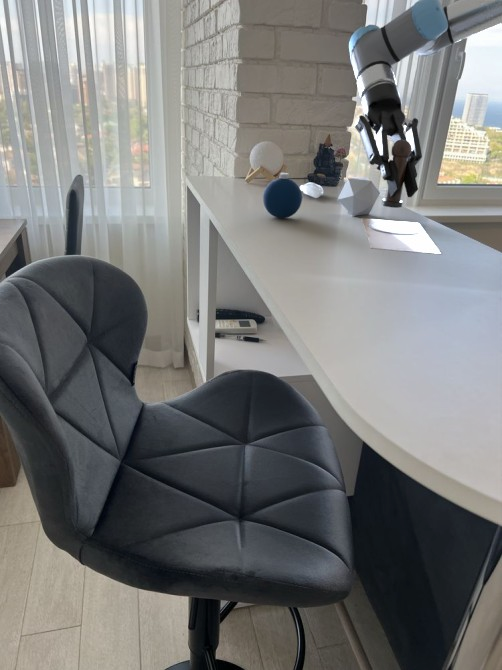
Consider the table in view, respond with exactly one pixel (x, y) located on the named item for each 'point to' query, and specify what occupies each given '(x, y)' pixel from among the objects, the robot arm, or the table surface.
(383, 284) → the table surface
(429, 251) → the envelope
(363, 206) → the die
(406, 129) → the robot arm
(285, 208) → the christmas ornament
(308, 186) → the pincushion
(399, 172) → the dot stamp
